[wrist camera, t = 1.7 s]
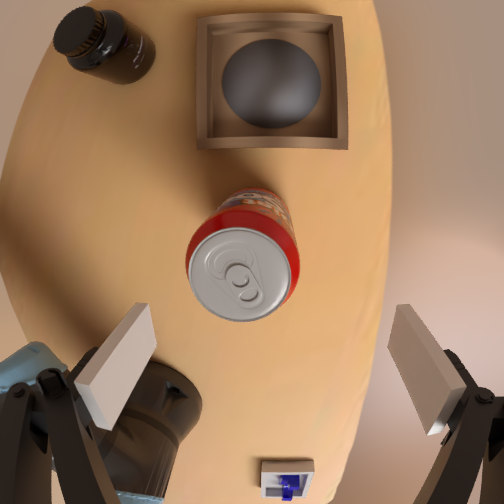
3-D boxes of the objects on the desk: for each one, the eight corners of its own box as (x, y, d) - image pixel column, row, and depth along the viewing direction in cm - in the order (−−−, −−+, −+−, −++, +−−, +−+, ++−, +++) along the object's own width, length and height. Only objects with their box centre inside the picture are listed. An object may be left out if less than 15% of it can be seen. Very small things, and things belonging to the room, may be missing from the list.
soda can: (240, 267, 35) (216, 346, 21) (206, 206, 33) (155, 251, 19) (302, 237, 33) (321, 304, 19) (270, 173, 31) (266, 193, 17)
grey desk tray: (261, 488, 52) (260, 497, 50) (262, 460, 48) (261, 472, 45) (305, 488, 52) (305, 497, 49) (313, 460, 47) (314, 471, 44)
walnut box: (206, 149, 31) (196, 149, 27) (205, 31, 26) (197, 17, 22) (339, 149, 30) (348, 149, 26) (334, 30, 25) (341, 16, 21)
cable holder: (282, 470, 48) (282, 486, 44) (299, 471, 48) (299, 487, 44) (275, 485, 51) (274, 500, 47) (290, 486, 51) (290, 500, 47)
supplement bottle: (165, 66, 28) (114, 33, 16) (115, 95, 29) (51, 81, 18) (147, 24, 26) (97, -16, 14) (100, 53, 27) (39, 29, 16)
